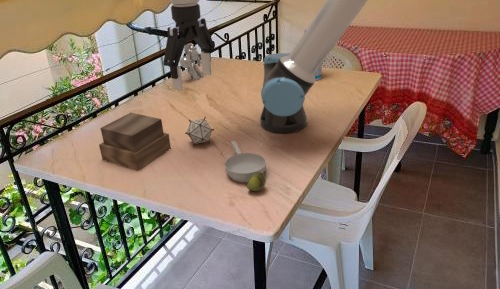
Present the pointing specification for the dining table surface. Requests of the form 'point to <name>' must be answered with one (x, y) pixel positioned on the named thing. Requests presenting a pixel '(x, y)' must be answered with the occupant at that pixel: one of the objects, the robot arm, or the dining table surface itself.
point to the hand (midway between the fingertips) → (193, 81)
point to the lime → (256, 182)
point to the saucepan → (244, 165)
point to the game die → (199, 131)
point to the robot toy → (191, 57)
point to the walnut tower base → (137, 156)
